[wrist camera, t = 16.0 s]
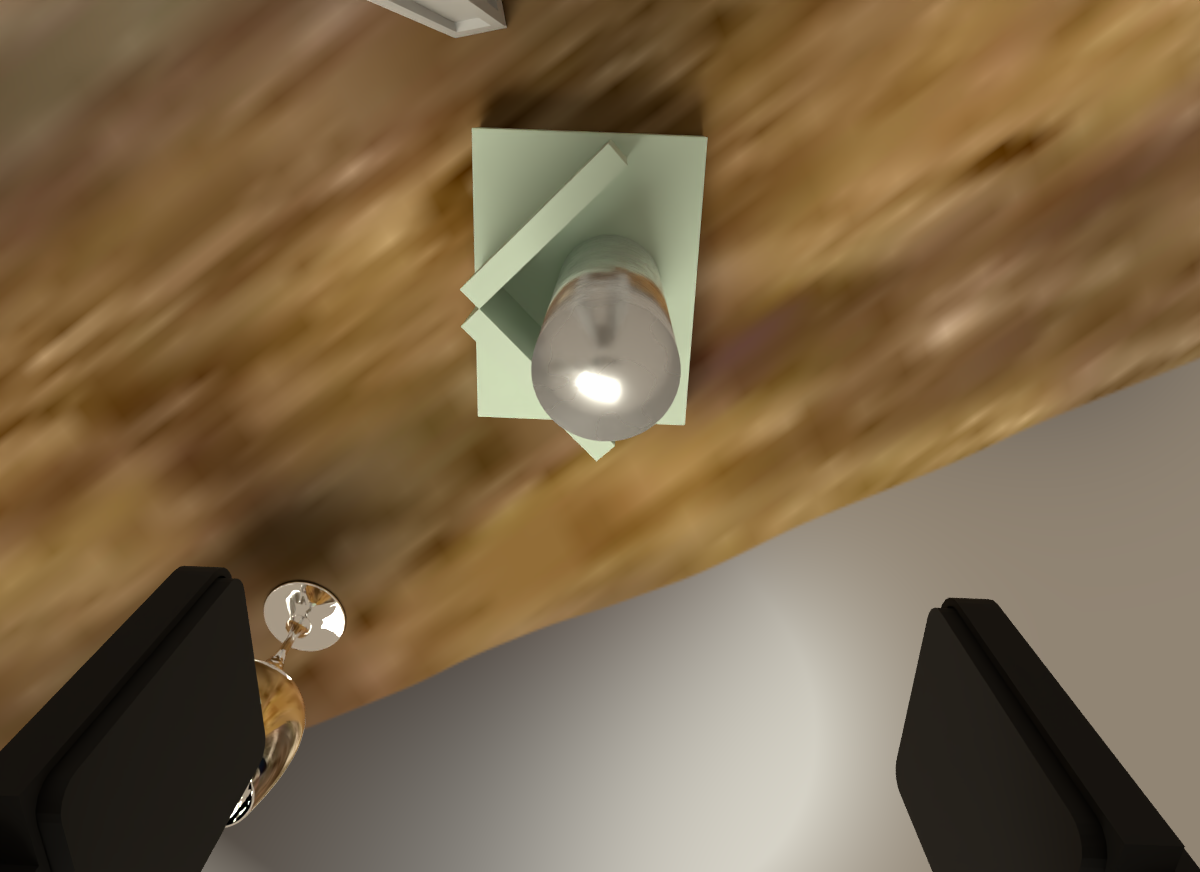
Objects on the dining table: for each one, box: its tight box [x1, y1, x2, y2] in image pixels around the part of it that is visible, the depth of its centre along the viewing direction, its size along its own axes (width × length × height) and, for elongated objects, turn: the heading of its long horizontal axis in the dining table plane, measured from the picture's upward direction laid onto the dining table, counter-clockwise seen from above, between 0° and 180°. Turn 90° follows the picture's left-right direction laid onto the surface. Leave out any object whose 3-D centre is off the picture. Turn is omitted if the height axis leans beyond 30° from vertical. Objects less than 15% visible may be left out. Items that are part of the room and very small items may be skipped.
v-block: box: [460, 127, 708, 461], centre depth 34 cm, size 10×12×7 cm
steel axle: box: [531, 235, 681, 441], centre depth 29 cm, size 4×4×12 cm
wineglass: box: [225, 581, 346, 828], centre depth 39 cm, size 6×6×12 cm
